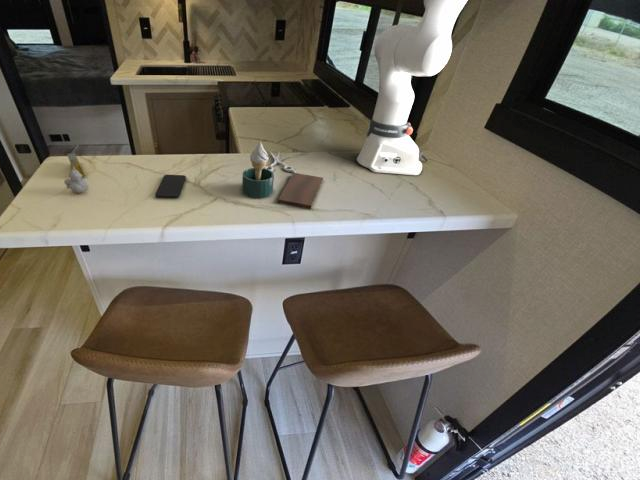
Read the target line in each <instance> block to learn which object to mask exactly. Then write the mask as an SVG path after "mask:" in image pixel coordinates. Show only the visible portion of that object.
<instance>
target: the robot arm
mask: <svg viewBox="0 0 640 480" xmlns="http://www.w3.org/2000/svg"><path fill="white" fill-rule="evenodd" d="M468 1H469V0H423V7H424V9H425V10H424V13H423V16H422V18H421V20H420V21H419V23H418V24H417V25H410V24H405V23H402V24H394V25H390V26H388V27H386V28H384V29H383V30H382V31H381V33H379V35H378V37H377V39H376V42H375V45H374V57H375V59H376V61H377V65H378V75H379V76H378V77H379V79H378V80H379V83H378V84H379V85H378V93H377V98H376V103H375V107H374V111H373V115H372V117H371V118H370V120H369V124H368V126H367V130H366V137H365V141H364V143H363V146H362V148H361V150H360V152H359V154H358V156H357V157H356V161H357V163H358V164H359V165H361V166H363V167H365V168H366V169H369V170H370V171H371V172H373V173H381V174H382V173H383V174H393V175H394V174H395V175H407V176H418V175H420V174H421V172H422V170H423V164H422V162H421V161H420V159H421V158H422V159H423V160H424V161H425V162H428V161H429V158H428V157H427V156H426V155H425V154H424V152H423V151H422V150H421V151H420V149H419V147H418V145H417V144H416V143H415V141H414V140H413V138H412V137H411V135H412V133H413V131H414V129H413V127H412V125H411V123H410V122H408V119H409V115H410V113H411V110H412V108H413V107H412V106H413V104H414V101H415V92H414V90H413V87H412V83H411V76H414V77H432V76H435V75H437V74H438V73H440V72H441V71H442V70H443V69H444V67H446V65H447V64H448V61H449V60H450V57H451V54H452V51H453V41H452V32H453V29H454V26H455V23H456V21H457V18H458V17H459V15H460V13H461V11H463V8H464V7H465V5H467V2H468Z"/></svg>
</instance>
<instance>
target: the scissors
mask: <svg viewBox="0 0 640 480" xmlns="http://www.w3.org/2000/svg"><path fill="white" fill-rule="evenodd" d="M269 152H270V154H271V156H272V158H273V160H274V161H273V162H272V163H270V164H269V165H265V167H264V168H265V169H269V170H270V171H272V172H274V170H275V167H274V166H275V165H277V164H278V165H281V166H283V170H284V171H285V172H288V173H292V174H293V173H297V171H296V170H295V169H294V166H292V165H289V164H286V163H285V162H282V161H281V159H280V156H281V155H280V154H281V151H280V150H278V153H277V155H275V154H274V153H273V152H272V151H271V150H269Z"/></svg>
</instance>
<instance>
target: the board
mask: <svg viewBox="0 0 640 480" xmlns="http://www.w3.org/2000/svg"><path fill="white" fill-rule="evenodd" d="M323 181H324V177H323V176H316V175H311V174H310V175H309V174H304V173H297V172H296V173H293V172H292V175H291V176H290V178H289V180H288V181H287V183H286V184H285V187H284V188H283V190H282V192H281V194H280V195H279V197H278V199H277V204H282V205H286V206H291V207H297V208H302V209H307V210H311V209H312V207H313V205H314V202H315V200H316V197H317V195H318V193H319V190H320V188H321V186H322V183H323Z"/></svg>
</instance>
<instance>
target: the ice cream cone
mask: <svg viewBox="0 0 640 480" xmlns="http://www.w3.org/2000/svg"><path fill="white" fill-rule="evenodd" d="M249 160H250V162H251V166H252V168H254V169H255V178H256V180H260V178H261V172H262V169H263V168H265V167H266V166H267V163H268V161H269V154H268V153H267V151H266V149H265V148H264V146H263V143H262V142H261V140H259V142H258V144H257V146H256V147H255V148H254V150H253V151H252V152H251V153H250V155H249Z"/></svg>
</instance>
